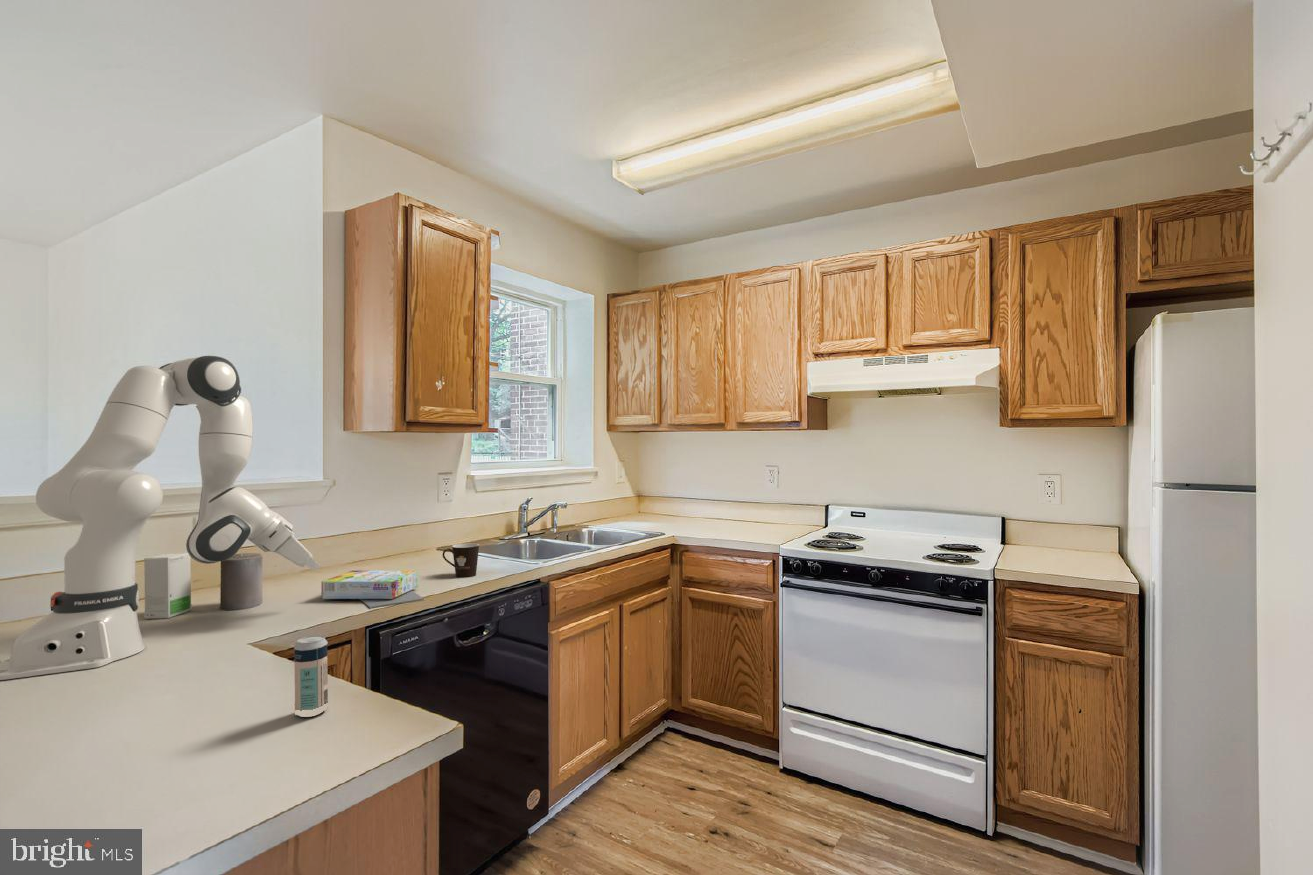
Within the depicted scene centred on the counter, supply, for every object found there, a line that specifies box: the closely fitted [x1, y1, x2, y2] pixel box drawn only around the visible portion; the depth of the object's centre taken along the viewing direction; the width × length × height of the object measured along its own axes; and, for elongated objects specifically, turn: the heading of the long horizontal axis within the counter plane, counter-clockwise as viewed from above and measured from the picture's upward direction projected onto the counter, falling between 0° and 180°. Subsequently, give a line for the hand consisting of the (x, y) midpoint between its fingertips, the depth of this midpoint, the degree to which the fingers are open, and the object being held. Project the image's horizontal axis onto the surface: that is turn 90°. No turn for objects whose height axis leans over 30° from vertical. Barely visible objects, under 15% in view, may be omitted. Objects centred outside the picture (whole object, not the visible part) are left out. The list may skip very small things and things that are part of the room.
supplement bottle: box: [293, 634, 329, 711], centre depth 99 cm, size 5×5×12 cm
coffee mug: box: [442, 542, 480, 579], centre depth 204 cm, size 12×9×10 cm
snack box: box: [320, 570, 419, 600], centre depth 178 cm, size 21×6×15 cm
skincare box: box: [143, 552, 192, 620], centre depth 160 cm, size 8×7×16 cm
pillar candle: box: [219, 550, 263, 611], centre depth 168 cm, size 10×10×15 cm
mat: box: [359, 590, 425, 609], centre depth 174 cm, size 14×17×1 cm
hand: (317, 568), depth 163 cm, fingers closed
